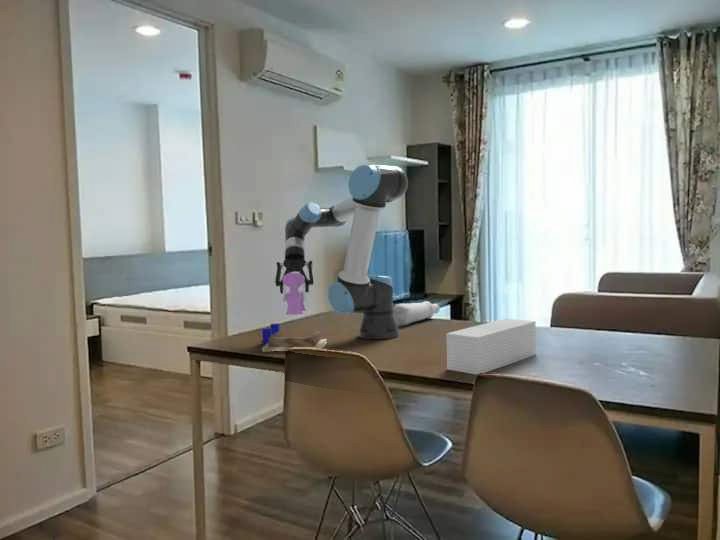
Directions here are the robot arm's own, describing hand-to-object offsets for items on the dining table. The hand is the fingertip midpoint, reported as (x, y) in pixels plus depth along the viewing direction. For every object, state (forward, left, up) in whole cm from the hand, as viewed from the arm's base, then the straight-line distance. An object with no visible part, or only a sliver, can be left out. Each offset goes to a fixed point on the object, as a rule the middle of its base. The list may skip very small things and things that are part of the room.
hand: (294, 299), depth 226 cm
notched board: (-1, +8, -16) cm, 18 cm away
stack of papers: (-67, +33, -17) cm, 77 cm away
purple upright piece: (0, -4, -6) cm, 7 cm away
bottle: (-44, -44, -17) cm, 64 cm away
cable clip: (+11, -4, -17) cm, 20 cm away
